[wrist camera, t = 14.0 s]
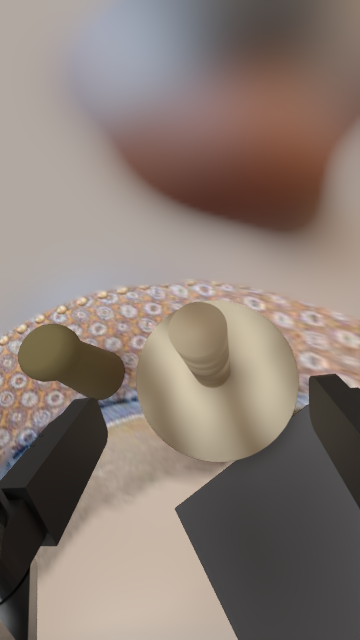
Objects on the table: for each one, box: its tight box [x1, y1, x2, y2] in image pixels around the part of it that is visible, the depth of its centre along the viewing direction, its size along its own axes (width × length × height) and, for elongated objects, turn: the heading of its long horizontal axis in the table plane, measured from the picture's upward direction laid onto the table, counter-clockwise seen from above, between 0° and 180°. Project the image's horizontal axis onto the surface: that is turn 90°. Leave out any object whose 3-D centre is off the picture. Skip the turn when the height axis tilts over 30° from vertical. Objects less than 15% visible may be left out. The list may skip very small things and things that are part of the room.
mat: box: [175, 404, 360, 640], centre depth 18 cm, size 16×16×1 cm
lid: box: [136, 300, 299, 462], centre depth 17 cm, size 14×14×10 cm
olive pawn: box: [18, 324, 125, 400], centre depth 24 cm, size 6×6×11 cm
